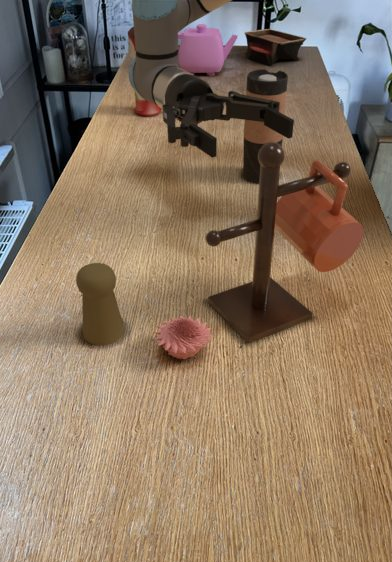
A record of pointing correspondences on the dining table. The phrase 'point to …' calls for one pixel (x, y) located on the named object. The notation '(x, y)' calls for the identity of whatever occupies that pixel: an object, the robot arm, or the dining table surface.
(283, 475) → the dining table surface
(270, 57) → the dark brown boxy piece
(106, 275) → the olive brown pawn
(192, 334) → the flower
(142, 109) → the liquor
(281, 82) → the travel mug
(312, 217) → the mug
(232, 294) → the mug tree
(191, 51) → the teapot
